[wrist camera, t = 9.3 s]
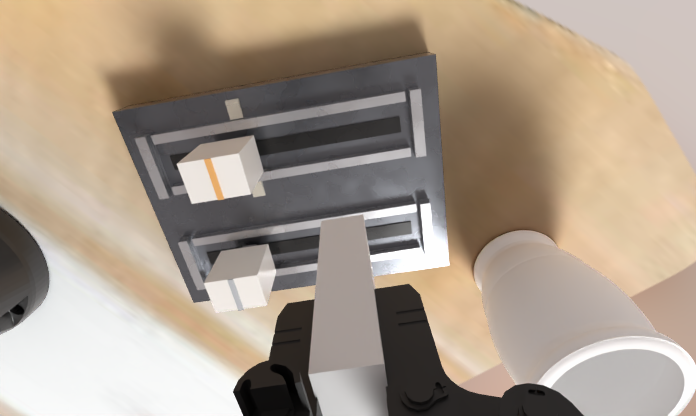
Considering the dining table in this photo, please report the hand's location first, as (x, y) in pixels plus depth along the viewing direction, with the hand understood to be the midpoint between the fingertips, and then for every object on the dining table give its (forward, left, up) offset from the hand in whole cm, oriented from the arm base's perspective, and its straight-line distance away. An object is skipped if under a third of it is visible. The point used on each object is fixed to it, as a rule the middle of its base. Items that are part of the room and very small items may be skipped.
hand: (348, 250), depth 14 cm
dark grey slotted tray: (-5, -5, -20) cm, 21 cm away
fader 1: (-8, 0, -17) cm, 19 cm away
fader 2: (-10, -9, -17) cm, 21 cm away
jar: (+14, -17, -20) cm, 29 cm away
